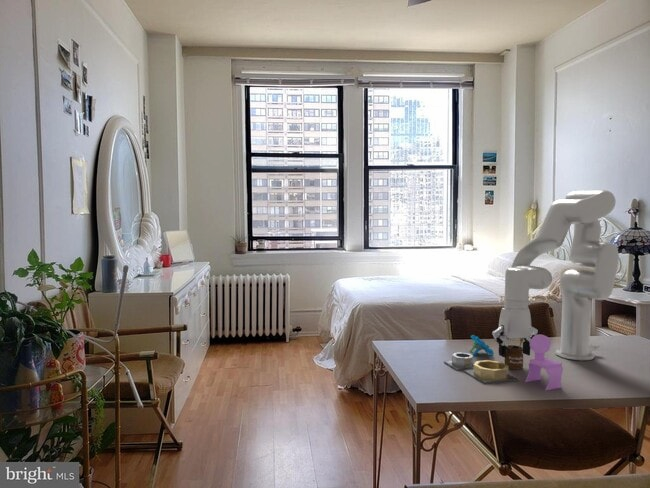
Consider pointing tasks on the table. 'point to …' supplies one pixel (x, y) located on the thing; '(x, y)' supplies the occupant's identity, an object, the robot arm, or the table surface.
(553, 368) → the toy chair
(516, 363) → the utensil holder
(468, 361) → the narrow socket
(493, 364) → the wide socket
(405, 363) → the table surface
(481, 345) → the gear
